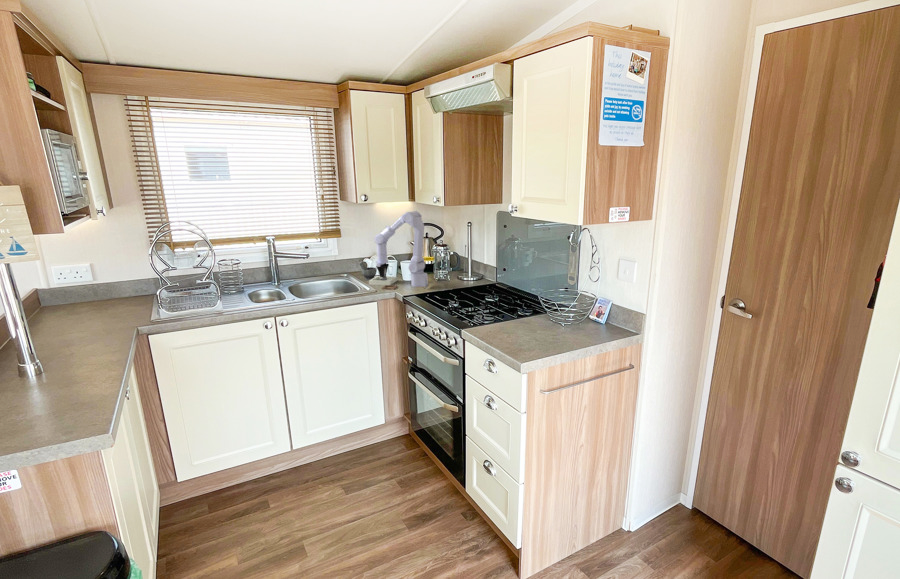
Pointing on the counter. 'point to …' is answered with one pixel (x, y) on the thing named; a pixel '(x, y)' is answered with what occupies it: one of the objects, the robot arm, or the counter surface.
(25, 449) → the counter surface
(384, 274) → the strut
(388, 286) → the stud block
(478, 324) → the counter surface
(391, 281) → the bin
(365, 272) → the mortar and pestle
